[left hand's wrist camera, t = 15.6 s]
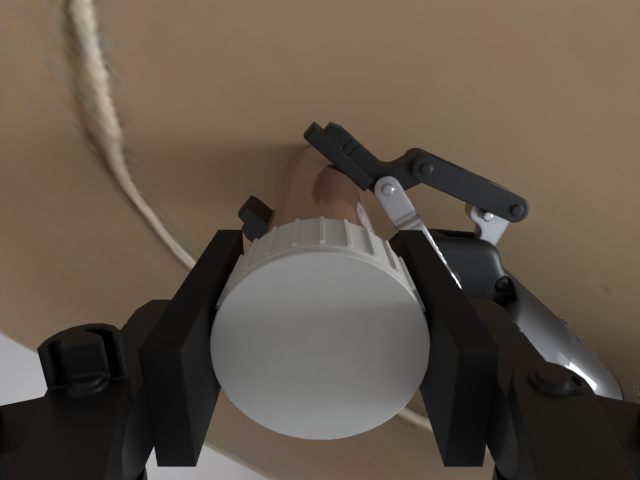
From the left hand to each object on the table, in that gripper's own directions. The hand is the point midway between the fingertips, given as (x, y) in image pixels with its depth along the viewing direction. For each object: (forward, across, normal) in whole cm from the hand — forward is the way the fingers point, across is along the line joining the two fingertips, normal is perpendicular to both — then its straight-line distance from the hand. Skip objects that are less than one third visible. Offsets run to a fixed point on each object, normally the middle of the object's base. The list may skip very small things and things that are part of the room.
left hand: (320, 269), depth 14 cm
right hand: (+8, -2, +2) cm, 8 cm away
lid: (-4, 0, 0) cm, 4 cm away
